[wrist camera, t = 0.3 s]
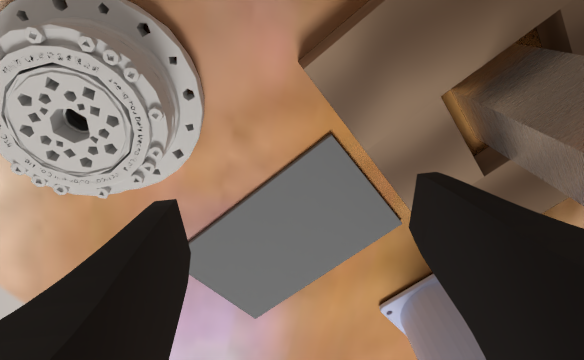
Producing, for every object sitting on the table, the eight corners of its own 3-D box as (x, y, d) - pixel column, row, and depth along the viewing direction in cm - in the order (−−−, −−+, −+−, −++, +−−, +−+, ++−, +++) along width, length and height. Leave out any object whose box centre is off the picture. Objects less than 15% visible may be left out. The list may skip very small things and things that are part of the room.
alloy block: (534, 97, 20) (714, 163, 12) (475, 137, 21) (608, 221, 13) (514, 42, 18) (710, 80, 11) (450, 89, 19) (588, 155, 11)
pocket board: (649, 118, 22) (683, 129, 20) (438, 247, 26) (452, 266, 24) (596, -195, 14) (646, -221, 12) (297, 61, 17) (303, 69, 16)
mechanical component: (241, 82, 18) (49, -69, 14) (240, 106, 14) (-26, -92, 10) (148, 205, 21) (-31, 111, 17) (126, 253, 17) (-112, 145, 13)
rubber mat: (400, 220, 24) (402, 223, 23) (255, 315, 27) (255, 318, 27) (330, 133, 20) (331, 135, 19) (169, 257, 23) (168, 260, 23)
